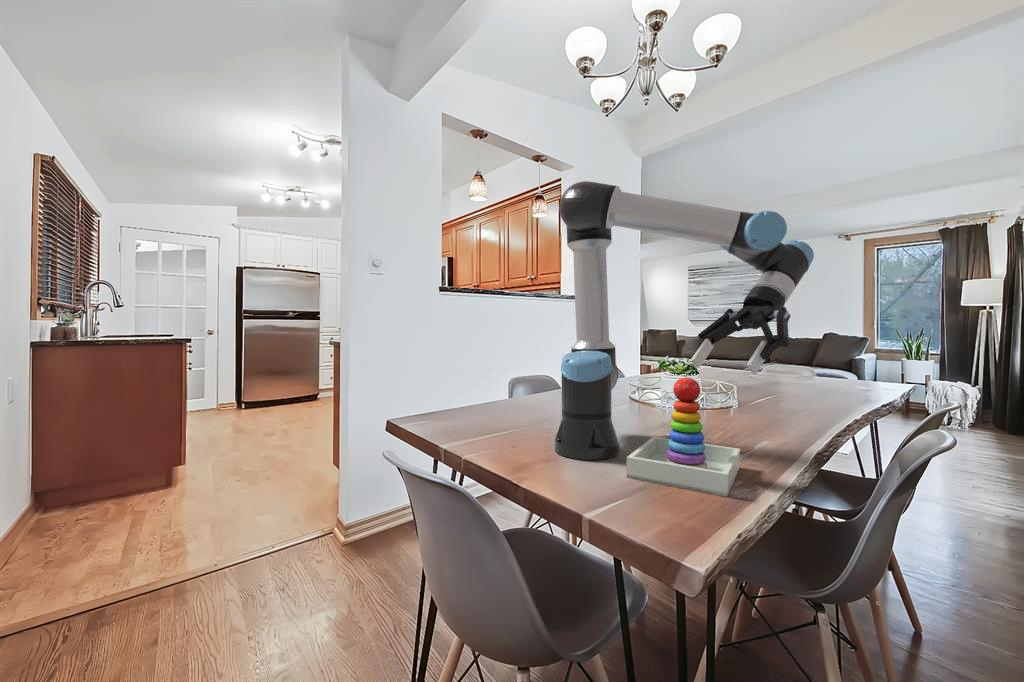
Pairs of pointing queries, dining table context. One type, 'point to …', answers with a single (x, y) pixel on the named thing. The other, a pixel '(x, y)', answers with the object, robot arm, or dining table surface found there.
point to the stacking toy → (686, 427)
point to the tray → (685, 468)
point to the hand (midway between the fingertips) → (721, 366)
